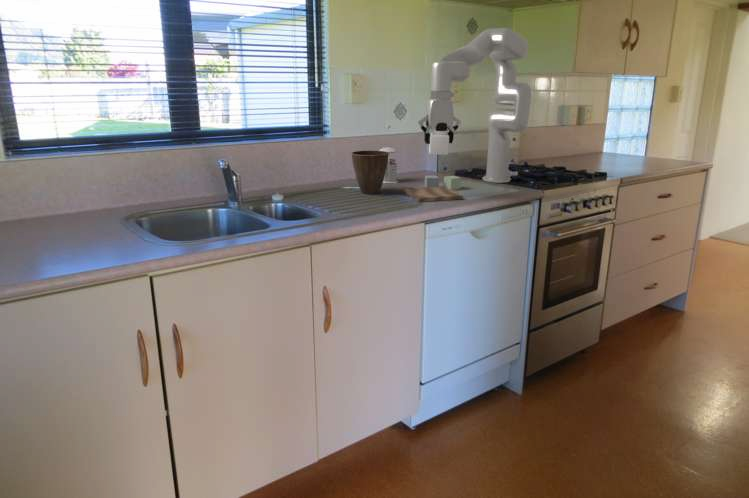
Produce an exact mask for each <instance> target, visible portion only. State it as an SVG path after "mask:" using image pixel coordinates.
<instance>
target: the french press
mask: <svg viewBox="0 0 749 498" xmlns="http://www.w3.org/2000/svg"><path fill="white" fill-rule="evenodd" d="M385 128H387V129H389V128H391V125H390V124H386V125H385ZM378 151H385V152H388V153H389V154H393V153H397V152H398V150H397V149H396V148H394V147H389V146H387V147H382V148H380V149H378ZM396 161H397V160H396V159H395V158H390V157H388V162H387V168H386V173H385V177H384V180H383V183H394V184H397V183H399V180H397V178H398V177H397V170H398V169H397V168H398V165H397V162H396Z"/></svg>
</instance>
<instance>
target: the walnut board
mask: <svg viewBox="0 0 749 498" xmlns="http://www.w3.org/2000/svg"><path fill="white" fill-rule="evenodd" d="M403 193H404V194H405V193H406V194H405V195H407V194H408V195H409V196H408V195H407V196H408V197H410V196H411V197H413V198H414V199H416V200H417V201H416V200H415V201H416V202H418V203H424V202H428V201H429V202H440V201H441V202H442V201H444V200H445V201H456V200H455V199H462V200H464V195H462V194H461V193H460V192H456V190H451V189H449V188H447V187H444V186H439V187H428V188H425V187H414V188H412V187H411V188H403ZM411 197H410V198H411ZM413 198H412V199H413ZM414 199H413V200H414Z"/></svg>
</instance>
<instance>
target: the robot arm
mask: <svg viewBox="0 0 749 498" xmlns="http://www.w3.org/2000/svg"><path fill="white" fill-rule="evenodd" d="M528 43H529V42H528V40H527V39H526V38H525V37H524V36H522V35H521V34H519V33H518V32H517V31H515V30H513V29H511V28H508V27H498V28H496V27H495V28H494V27H493V28H487V29H485V30H483V31H481V32H480V33H479V34H478V35H477V36H476V37H475V38H473V39H472V40H471V41H470V42H469V43H468V44H466V45H464V46H461V47H459V48H457V49H455V50H452V51H449V53H446V54H445V55H443V56H442V57H441V58H440V59H439V60H436V61H434V62H432V65H431V81H430V99H428V100H427V104H426V109H425V117H423V118H421V119H420V120H418V121H417V124H418V126H419V128H420V129H421V131H423V133H424V137H423V138H424V139H423V141H424V142H425V144H427V145H429V144H430V134H431V133H430V132H431V129H432V128H435V127H436V126H437V124H438V123H446V124H447V127H448V128H447V134H448V135H449V144H453V141H454V133H455V132H456V131H457V130H458V129H459V127H460V125H461V124H462V121H461V120H460V119H459V118H457V117H456V116H454V114H455V113H454V111H455V110H454V105H453V103H454V102H453V100H452V98H453V97H455V93H454V92H452V83H463V82H465V81H467V79H468V78H469V77H470V75H471V69H470V67H472V66H476V65H478V64H479V65H480V64H481V63H482V62H483V61H484V60H485V59H486V58H487V57H488V56H489V57H490V59H491V61H492V62H493V64H494V68H495V83H494V93H493V100H494V103H495V104H497V105H501V106H513V107H514V108H505V107H503V108H499V107H498V108H494V109H492V110H491V111H490V112H489V114H488V116H487V128H488V142H487V143H488V145H487V156H486V157H487V158H486V172H485V176H482V180H483V181H484V182H487V183H494V184H495V183H497V184H500V183H509V182H511V181H512V178H511V177H517V176H518V175H519V173H518V171H512V170H510V169H509V164H510V151H511V138H510V135H509V133H511V132H512V133H521V132H524V131H525V130H526V129H527V127H528V124H529V118H530V111H531V110H530V109H531V102H532V89H531V86H530V85H529V84H528V83H526V82H519V81H518V82H517V67H516V64H515V63H514V61H517V60H522V59H524V58H525V57H527V54H528V51H529V44H528ZM454 123H455V124H454ZM424 124H425V125H424ZM508 132H509V133H508ZM510 180H511V181H510Z"/></svg>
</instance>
